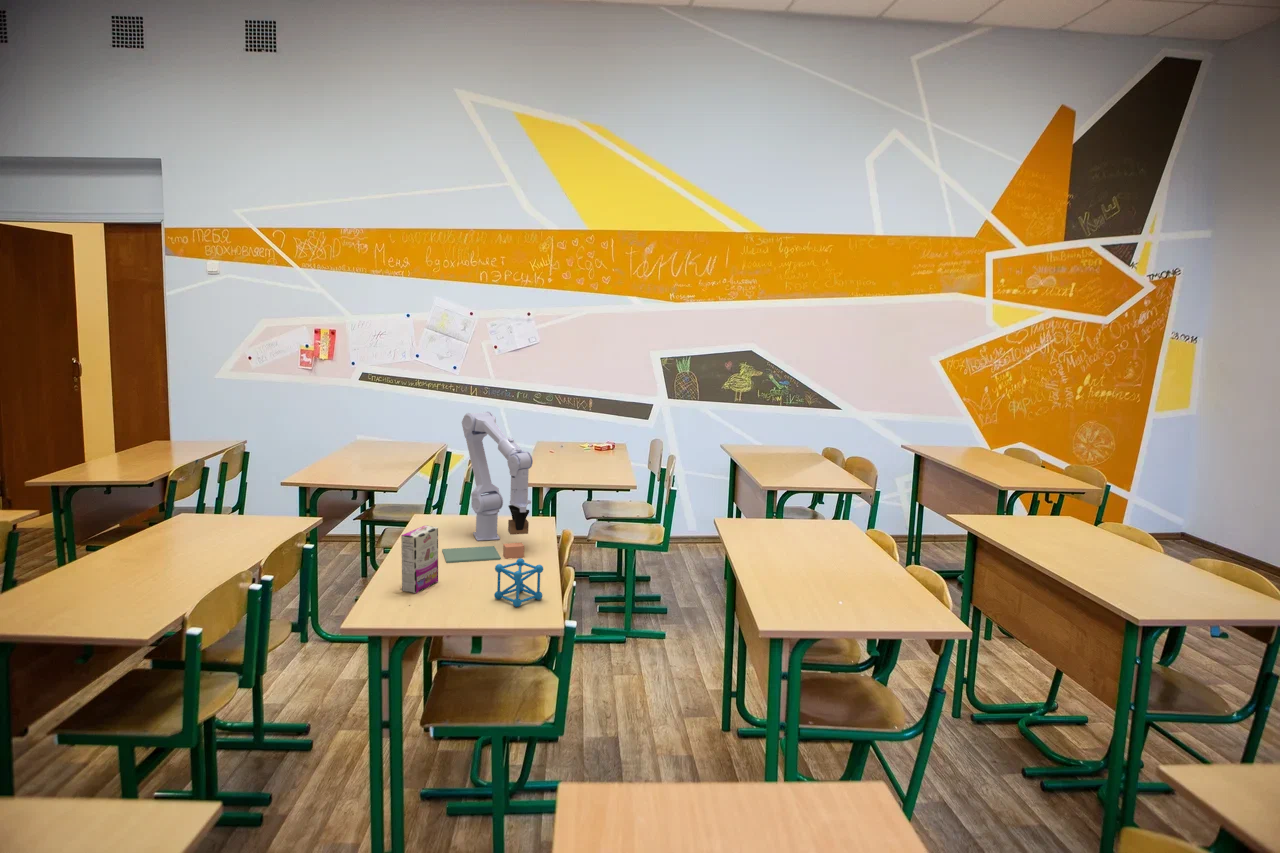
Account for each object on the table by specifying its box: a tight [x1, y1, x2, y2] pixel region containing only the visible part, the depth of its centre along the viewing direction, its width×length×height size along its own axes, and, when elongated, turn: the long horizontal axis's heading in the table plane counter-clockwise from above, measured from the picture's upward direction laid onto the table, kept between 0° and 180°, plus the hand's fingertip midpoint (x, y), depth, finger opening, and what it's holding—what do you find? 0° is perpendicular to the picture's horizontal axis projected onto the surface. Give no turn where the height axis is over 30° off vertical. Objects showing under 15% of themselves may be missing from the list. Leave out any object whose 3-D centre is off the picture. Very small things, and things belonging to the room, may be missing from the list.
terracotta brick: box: [502, 542, 525, 560], centre depth 248 cm, size 4×6×4 cm, turn 112°
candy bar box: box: [400, 525, 439, 594], centre depth 215 cm, size 11×5×16 cm, turn 161°
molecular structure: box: [493, 558, 544, 608], centre depth 210 cm, size 10×10×10 cm
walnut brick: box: [507, 519, 530, 536], centre depth 255 cm, size 4×6×4 cm, turn 110°
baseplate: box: [441, 545, 502, 564], centre depth 247 cm, size 13×17×1 cm
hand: (518, 528), depth 255 cm, fingers closed on walnut brick, 4 cm apart
